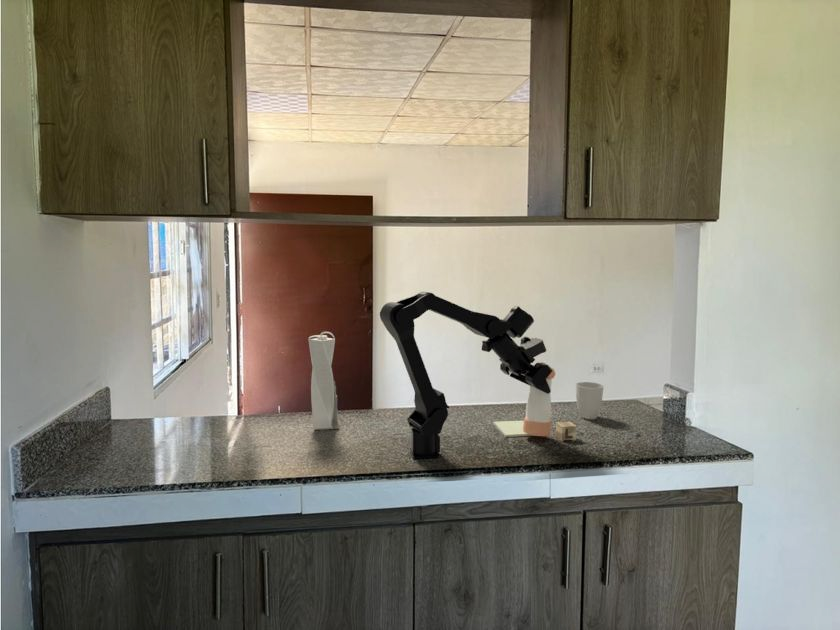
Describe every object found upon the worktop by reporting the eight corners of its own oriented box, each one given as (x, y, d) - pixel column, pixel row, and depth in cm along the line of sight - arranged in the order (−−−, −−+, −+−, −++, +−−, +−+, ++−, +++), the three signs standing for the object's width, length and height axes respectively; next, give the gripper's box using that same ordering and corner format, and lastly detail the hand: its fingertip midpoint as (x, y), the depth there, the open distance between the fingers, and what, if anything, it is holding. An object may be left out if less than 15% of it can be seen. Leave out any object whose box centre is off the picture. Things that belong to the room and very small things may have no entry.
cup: (590, 412, 177) (591, 381, 176) (607, 419, 169) (609, 387, 168) (569, 414, 174) (570, 383, 173) (585, 422, 166) (587, 389, 165)
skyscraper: (339, 431, 156) (338, 332, 153) (310, 432, 155) (308, 332, 152) (337, 422, 165) (336, 327, 162) (309, 423, 163) (308, 328, 160)
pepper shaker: (517, 428, 153) (523, 359, 152) (540, 427, 156) (546, 360, 154) (532, 436, 147) (538, 364, 145) (555, 435, 149) (562, 365, 148)
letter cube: (561, 441, 149) (562, 427, 149) (555, 436, 153) (556, 422, 153) (576, 440, 150) (576, 426, 150) (569, 435, 154) (570, 421, 154)
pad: (505, 436, 152) (505, 434, 152) (493, 423, 164) (493, 421, 164) (547, 435, 154) (547, 433, 154) (532, 422, 166) (532, 420, 166)
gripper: (547, 333, 139) (582, 375, 143) (511, 324, 156) (544, 361, 161) (517, 366, 137) (554, 407, 142) (484, 353, 154) (519, 390, 159)
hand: (543, 389), depth 151 cm, fingers closed on pepper shaker, 6 cm apart
